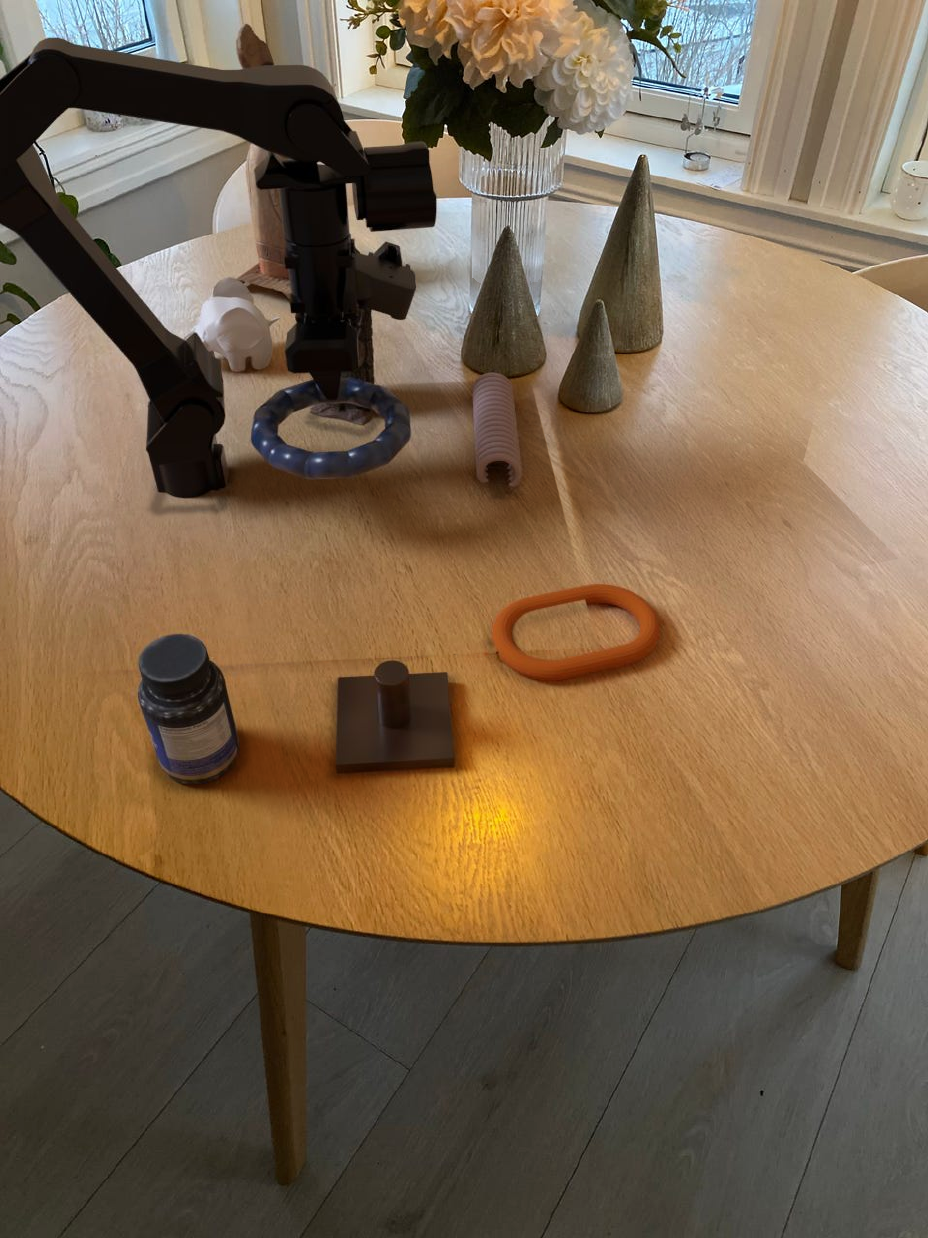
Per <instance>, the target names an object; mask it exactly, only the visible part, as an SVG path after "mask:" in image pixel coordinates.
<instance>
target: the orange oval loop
mask: <svg viewBox="0 0 928 1238" xmlns="http://www.w3.org/2000/svg"><path fill="white" fill-rule="evenodd" d="M583 600H585V605H591V604H607V605H613V606H616V607H619V608H621V609H623V610H625V611H626V612H628V613H630V614H631V615H632V616H633V617H634V618H635V619H636V621H637V622H638V625H639V632H638V635H637V636H636V638H635V639H633V640H631V641H630V642H628V643H624V644H621V645H618V646H613V647H609V648H605V649H599V650H596V651H591V652H586V653H582V654H578V655H573V656H569V657H568V656H567V657H564V658H563V657H562V658H559V659H543V658H538V657H534V656H531V655H529V654H527V653H525V652H523V651H522V650H520V649H519V648H518V647H517V646H516V644H515V643H514V642H513V639H512V636H511V635H512V634H511V632H512V631H511V630H512V627H513V624H514V623H515V622H516V620H517V619H518V618H519V617H521V616H522V615H524V614H526V613H529V612H532V611H536V610H541V609H546V608H549V607H554V606H558V605H563V604H568V603H574V602H578V601H583ZM660 631H661V629H660V621H659V618H658V615H657V613H656V612H655V609H653V607H652V606H651V605H650V604H649V602H648V601H647V600H645V599H644V598H643V597H642V596H640V595H639V594H637V593H635V592H634V591H632V590H629V589H627V588H625V587H621V586H618V585H613V584H607V583H606V584H605V583H593V584H586V585H581V586H576V587H570V588H566V589H561V590H556V591H550V592H547V593H541V594H537V595H536V594H535V595H532V596H528V597H523V598H520V599H518V600H515V601H513V602H512V603H510V604H508V605H507V606H506V607H504V608H503V609H502V610H501V611H500V612H499V613H498V615H497V616H496V617H495V619H494V622H493V625H492V628H491V637H492V642H493V645H494V646H495V648H496V651H495V654H496V655H497V657H498V658H499V659H500V661H502V662H503V664H504V665H506V666H507V667H508V668H510V669H511V670H512V671H514V672H516V673H517V674H520V675H522V676H525V677H527V678H531V679H534V680H538V681H539V680H540V681H561V680H566V679H571V678H576V677H581V676H584V675H588V674H594V673H599V672H602V671H606V670H611V669H616V668H619V667H623V666H627V665H631V664H634V663H636V662H638V661H640V660H642V659H644V658H645V657H647V656H648V655H649V654H651V652H652V651H653V649H654V648H655V647H656V645H657V643H658V641H659V638H660V634H661V633H660Z"/></svg>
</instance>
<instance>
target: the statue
mask: <svg viewBox="0 0 928 1238" xmlns="http://www.w3.org/2000/svg"><path fill="white" fill-rule="evenodd" d="M355 252H357V253H360V254H362V253H361V251H359V249H358V248H356V246H355ZM357 303H358V302H357ZM372 311H373V310H371V309H368V308H365V307H363V306H361V305H360V304H358V318H357V319H356V321H355V322H354V323H353V324H352V325H351V326H352V327H354V328H355V329H356V330H357V332H358V348H359V368H358V369H356V370H354V371H351V372H341V378H354V379H357V380H361V381H365V382H368V383H372V384H376V382H375V381H376V380H375V365H374V363H375V358H374V353H375V351H374V345H373V343H374V342H373V341H374V339H373V335H374V333H373V332H374V331H373V330H374V329H373V317H372ZM308 412H309V413H310V414H311V415H314V416H318V417H322V418H325V419H334V420H340V421H344V422H348V423H352V424H354V425H357V426H364V425H365V424H366V423H367V421H368V420H369V419H370V418H371V416H372V415H373V414H374V412H375V411H374V410H373V409H369V408H366V407H362V406H358V405H355V404H351V403H327V404H317V405H314V406H311V408H309V411H308Z"/></svg>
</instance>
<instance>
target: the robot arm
mask: <svg viewBox="0 0 928 1238" xmlns="http://www.w3.org/2000/svg"><path fill="white" fill-rule="evenodd" d="M333 87H334V86H333V85H332V84H331V83H330V81H329V79H327V77H326V76H325V75H324V73H322V72H321V71H319V70H318V69H316V68H315V67H312V66H309V65H304V64H278V65H276V64H274V65H264V66H258V67H252V68H246V69H242V68H241V69H219V68H214V67H208V66H202V65H197V64H192V63H186V62H180V61H173V60H167V59H164V58H163V59H162V58H155V57H150V56H145V55H139V54H133V53H128V52H124V51H123V52H122V51H116V50H111V49H105V48H99V47H93V46H88V45H81V44H76V43H73V42H70V41H68V40H66V39H65V38H61V37H47V38H44V39H41V40H40V41H38V43H36V45H35V46H34V47H33V50H32V51H31V53H30V54H29V55H27V57H25V59H23V60H21V62H19V63H18V64H17V65H15V66H14V67H13V68H12V69H11V70H9V71H8V72H7V73H5V74H4V75H3V76H1V77H0V226H3V227H5V228H6V229H8V230H10V231H12V232H13V233H15V234H16V235H17V236H18V237H20V239H21V240H22V241H23V242H24V243H25V244H26V245H27V246H28V248H30V250H31V251H32V252H33V253H34V254H35V255H36V256H37V257H38V258H39V260H40V261H41V262H42V263H43V264H44V265H45V267H46V268H47V269H48V270H49V271H50V272H51V274H53V276H54V277H55V278H56V279H57V280H58V281H59V283H60V284H61V285H62V286H63V287H64V288H65V289H66V290H67V292H68V293H69V294H70V295H71V297H73V298H74V300H75V301H76V302H77V303H78V304H79V305H80V307H81V308H82V309H83V310H84V311H85V312H86V313H87V314H88V315H89V317H90V318H91V319H92V320H93V321H94V323H96V325H97V326H98V327H99V328H100V329H101V331H103V333H104V334H105V335H106V336H107V337H108V339H110V341H111V342H112V343H113V344H114V345H115V346H116V348H118V350H119V351H120V352H121V354H122V355H124V357H125V358H126V359H127V360H128V362H130V363H131V364H132V365H133V367H134V369H135V370H136V372H137V375H138V377H139V380H140V381H141V383H142V386H143V388H144V390H145V393H146V395H147V397H148V399H149V401H148V402H147V414H146V415H147V416H146V417H147V419H146V438H145V439H146V440H145V451H146V453H147V454H148V458H149V462H150V466H151V471H152V474H153V478H154V483H155V486H156V490H157V492H158V493H166V494H167V495H168V496H171V497H174V498H178V499H193V498H199V497H201V496H204V495H206V494H209V493H210V492H214V491H219V490H221V489H226V488H227V486H228V479H229V475H230V474H229V468H228V463H227V462H228V461H227V458H226V457H227V456H226V452H225V445H224V444H222V443H218V440H217V434H218V433H219V432H220V431H221V429H222V428H223V426H224V425H225V420H226V404H225V403H226V402H225V387H224V378H223V371H222V369H223V368H222V360H221V359H219V358H217V357H216V356H215V357H214V356H213V355H212V354H211V353H210V352H209V351H208V350H207V349H206V347H205V346H204V344H203V342H202V340H201V338H200V337H199V335H198V334H197V333H196V332H195V333H193V334H191V335H190V336H189V337H188V338H187V339H186V340H184V338H182V337H180V336H178V335H176V334H174V333H173V332H171V331H170V330H169V329H167V328H166V327H165V326H164V324H163V323H162V322H161V320H160V319H159V318H158V317H157V316H156V314H155V313H154V312H153V310H151V308H150V307H149V306H148V305H147V303H146V302H145V301H144V300H143V298H142V297H141V296H140V295H139V293H137V292H136V290H135V289H134V288H133V287H132V285H131V284H130V283H129V282H128V281H127V279H126V278H125V276H124V275H123V274H122V273H121V272H120V271H119V269H118V268H117V267H116V265H114V263H113V262H112V261H111V260H110V258H109V257H108V256H107V254H105V253H104V251H103V250H102V248H100V246H99V245H98V244H97V243H96V241H94V239H93V238H92V237H91V236H90V234H89V233H88V232H87V230H86V229H85V228H84V227H83V226H82V224H81V223H80V222H79V221H78V220H77V218H76V217H75V216H74V214H73V213H72V212H71V211H70V210H69V208H68V207H67V206H66V205H65V203H64V202H63V201H62V200H61V198H60V197H59V195H58V193H57V191H56V190H55V188H54V185H53V183H52V181H51V179H50V177H49V173H48V172H47V170H46V168H45V165H44V163H43V161H42V159H41V156H40V154H39V153H38V150H37V149H36V147H35V146H34V144H35V143H36V142H37V140H39V139H40V137H41V136H42V135H43V134H44V133H45V132H46V131H47V130H48V129H49V128H50V126H52V124H53V123H54V122H55V121H56V120H57V119H58V118H59V117H61V116H62V115H63V114H64V113H65V112H66V111H67V110H69V109H78V110H85V111H89V112H98V113H103V114H110V115H116V116H122V117H129V118H137V119H141V120H148V121H155V122H162V123H169V124H175V125H181V126H185V127H187V126H188V127H193V128H200V129H206V130H212V131H219V132H223V133H227V134H229V135H232V136H235V137H238V138H240V139H242V140H244V141H246V142H248V143H250V144H251V143H252V144H254V145H256V146H258V147H260V148H262V149H264V150H266V151H268V152H267V155H266V157H265V159H264V160H263V161H262V162H261V163H260V164H259V165H258V166H257V167H256V168H255V169H254V175H255V181H256V186H257V188H258V189H260V190H265V189H279V197H280V205H281V213H282V221H283V230H284V238H285V246H286V248H285V255H284V260H285V268H286V269H288V271H289V279H290V287H291V296H290V299H289V308H290V314H294V320H295V322H296V323H294V325H292V326H291V328H290V329H289V330H288V331H287V332H286V340H285V347H284V354H285V362H286V370H287V371H288V372H290V373H292V374H309V375H310V376H311V378H312V379H314V381H315V382H316V384H317V386H318V387H319V389H320V390H321V392H322V393H323V395H324V396H325V398H326V399H327V400H337V399H338V394H339V387H340V379H341V372H351V371H354V370H356V369H358V368H359V348H358V332H357V330H356V329H355V328H354V327H352V326H351V325H352V324H353V323H354V322H355V321H356V319H357V318H358V304H360V305H361V306H363V307H365V308H368V309H371V310H372V311H375V312H378V313H381V314H384V315H387V316H390V318H391V319H393V320H397V321H404V320H406V319H407V316H408V313H409V310H410V307H411V305H412V301H413V299H414V296H415V293H416V291H417V280H416V273H415V271H414V270H413V269H412V268H411V264H408V263H405V265H404V264H403V256H402V252H401V246H400V245H399V244H395V243H393V242H389V241H384V242H383V243H382V244H381V245H380V246H379V247H378V249H377V250H375V252H372V251H369V252H368V254H364V253H361V252H360V253H361V254H360V253H357V252H355V247H356V243H355V242H356V241H355V238H352V233H350V220H349V208H348V206H349V205H348V193H347V184H351V190H352V191H351V192H352V201H353V208H354V214H355V219H356V221H365V227H366V229H369V231H370V232H371V233H375V232H376V233H377V232H390V231H401V230H413V229H415V230H416V229H429V228H434V227H435V225H436V222H437V221H436V220H437V209H438V208H437V193H436V192H435V189H434V179H433V172H432V168H431V164H430V149H429V148H428V146H427V144H426V142H424V141H421V140H420V141H410V142H406V143H404V144H399V145H397V144H396V145H382V146H367V147H363V145H362V142H361V140H360V138H359V135H358V132H357V131H356V130H353V129H352V128H351V127H350V126H349V124H348V123H347V122H346V120H345V117H344V114H343V110H342V108H341V105H340V102H339V99H338V97H337V94H336V92H335V89H334V88H333ZM279 155H281V156H284V157H287V158H290V159H284V158H282V157H280V156H279ZM320 163H321V164H320ZM357 302H358V303H357Z"/></svg>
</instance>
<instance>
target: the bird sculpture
mask: <svg viewBox="0 0 928 1238" xmlns="http://www.w3.org/2000/svg"><path fill="white" fill-rule="evenodd" d="M235 51H236V56H237V60H238V63H239V64H240V67H241V69H246V68H252V67H258V66H264V65H275V63H274V59H273V55H272V53H271V50H270V48H269V46H268V44H267V42H265V41H264V40H262V39H260V37H259V36H258V35H256V33H255V30H254V29H253V28H252V26H251V25H250V24H248V23H243V25H242V26H241V27H240V29H238V31H237V37H236V40H235ZM267 152H268V151H266V150H264V149H262V148H260V147H258V146H256V145H254V144H252V143H250V145H249V149H248V153H247V156H246V162H245V179H246V181H245V182H246V188H247V195H248V201H249V208H250V214H251V223H252V229H253V234H254V235H253V236H254V240H255V247H256V252H257V256H258V257H257V259H258V262H257V264H255V265H254V266H252V267H251V268H249V269H248V270H246V271H245V272H243V273H242V274H241V275H239V276H238V277H237V278H235V279H237V280H239V281H240V282H241V283H243V284H244V285H245V283H249V284H253V285H256V286H259V287H263V288H267V289H273V290H274V291H277V292H281V293H283V294H284V295H285V296H286V297H287V299H289V300H290V296H291V287H290V279H289V271H288V269H286V268H285V260H284V255H285V248H286V246H285V238H284V230H283V221H282V213H281V205H280V197H279V189H265V190H260V189H258V188H257V186H256V181H255V175H254V169H255V168H256V167H257V166H258V165H259V164H260V163H261V162H262V161H263V160H264V159H265V157H266V155H267ZM279 156H280V157H282V158H284V159H290V158H287V157H284V156H281V155H279Z"/></svg>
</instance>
